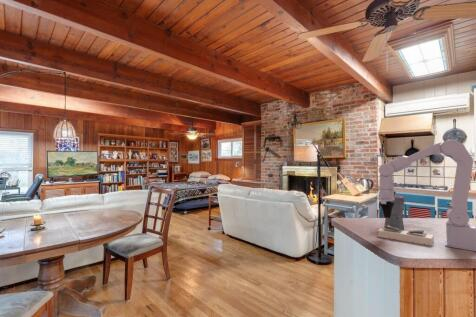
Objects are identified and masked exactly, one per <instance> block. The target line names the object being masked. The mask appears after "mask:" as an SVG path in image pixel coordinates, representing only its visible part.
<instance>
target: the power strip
mask: <svg viewBox="0 0 476 317" xmlns="http://www.w3.org/2000/svg"><path fill="white" fill-rule="evenodd" d="M409 231H410V230H399V231H395V230H392V229H388V228H385V227H380V228H379V229H377V237H378V238H383V239H384V238H385V239H389V238H390V239H391V240H395V239H396V240H395V241H401V240H402V241H401V242H407V243H412V242H413V244H418V243H419V244H420V245H424V244H425V246H429V247H433V244H434V242H435V241H434V234H428V233H425V232H423V233H410V232H409Z"/></svg>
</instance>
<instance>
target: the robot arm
mask: <svg viewBox="0 0 476 317" xmlns="http://www.w3.org/2000/svg"><path fill="white" fill-rule="evenodd" d="M441 154H442V155H444V156H446V157H449V158H450V159H452V161H453V162H455V163H456V170H455V177H454V183H453V188H452V196H451V201H450V203H449V207H448V209H447V210H446V211H445V215H446V217H447V218H448V220H447V221H446V222H445V228H446V232H445V233H446V241H445V244H444V246H445V247H447V248H456V249H461V250H466V251H472V252H473V251H474V252H476V226H471V225H470V223H469V222H470V216H469V214H468V209H469V208H468V199H469V191H470V184H471V179H472V172H473V165H474V158H473V157H472V155H471V154H470V152H469V151H468V150H467V148H466V146H465V144H463V143H461V142H460V141H459V140H456V139H447V140H444V141H443V142H439V143H435V144H432V145H429V146H428V147H425V148H423V149H421V150H419V151H416V152H414V153H413V154H410V155H408V156H407V155H397V158H395V159H392V160H390V161H389V160H388V161H387V162H386V163H382V164H381V165H379V167H378V173H379V181H378V182H379V197H377V198H376V199H377V200H380V202H379V205H380V207H381V210H382V214H383V216H384V219H386V218H390V217H391V212H392V208H393V206H394V204H395V203H394V202H390V201H394V200H395V199H394V191H395V190H394V189H395V185H394V177H393V176H394V175H393V174H394V173H398V172H401V171H403V170H405V169H408V168H410V167H411V166H412V163H414V162H416V161H418V160H422V159H423V158H426V157H428V156H431V155H441Z"/></svg>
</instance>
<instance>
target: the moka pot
mask: <svg viewBox="0 0 476 317" xmlns="http://www.w3.org/2000/svg"><path fill="white" fill-rule="evenodd" d="M396 193H397V192H396V191H395V190H394V199H395V200H394V201H390V202H394V203H395V204H394V206H393V208H392V212H391V217H390V218H384V219H385V220H384V227H383V228H386V226H388V225H389V226H392V227H396V228H399V230H402V231H405V225H404V219H403V212H404V207H405V200H406V197H405V196H403V195H399V194H396Z"/></svg>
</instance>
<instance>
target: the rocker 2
mask: <svg viewBox="0 0 476 317" xmlns="http://www.w3.org/2000/svg"><path fill="white" fill-rule="evenodd" d="M408 231H409V232H410V233H425V230H424V229H422V230H421V229H417V230H415V229H410V230H408Z"/></svg>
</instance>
